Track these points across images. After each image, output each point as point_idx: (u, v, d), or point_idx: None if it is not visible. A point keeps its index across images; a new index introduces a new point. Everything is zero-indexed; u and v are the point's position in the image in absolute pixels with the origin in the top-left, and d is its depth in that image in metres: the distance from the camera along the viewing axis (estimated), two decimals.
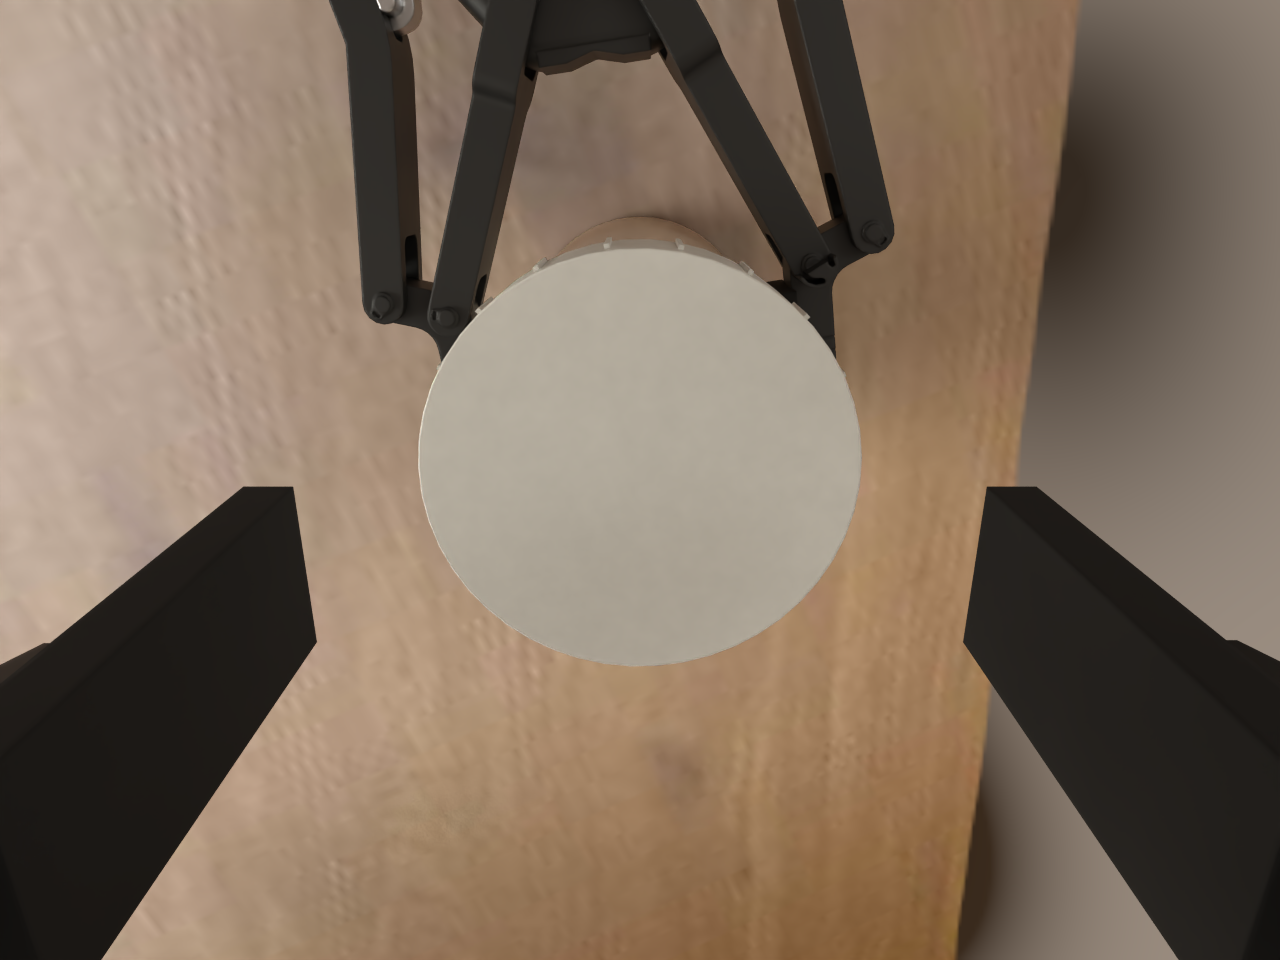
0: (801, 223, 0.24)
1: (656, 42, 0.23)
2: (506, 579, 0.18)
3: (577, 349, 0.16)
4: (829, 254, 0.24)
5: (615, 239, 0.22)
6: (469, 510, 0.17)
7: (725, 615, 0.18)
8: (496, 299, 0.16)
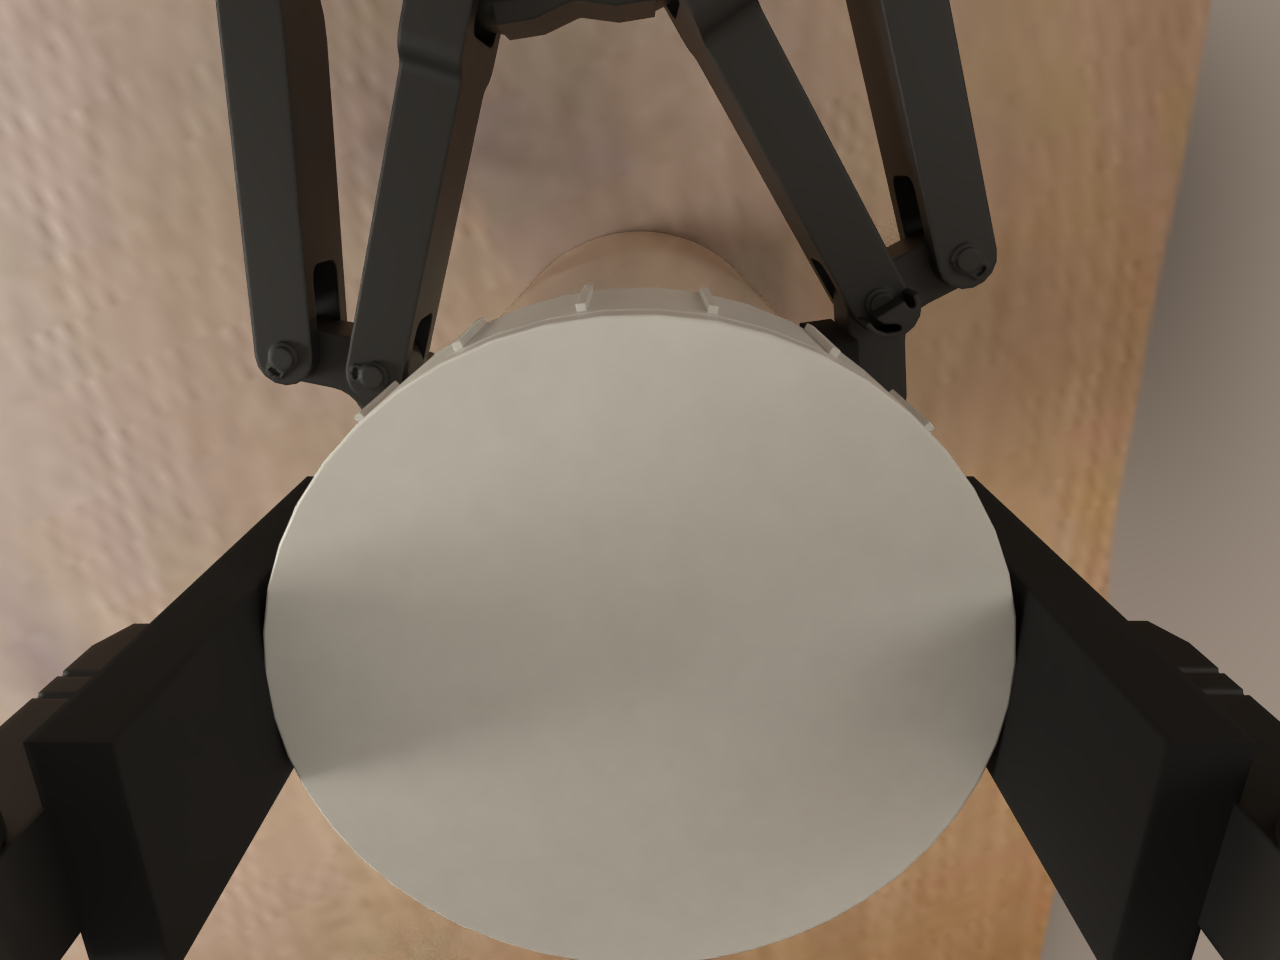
0: (866, 246, 0.17)
1: None
2: (421, 843, 0.11)
3: (530, 488, 0.09)
4: (905, 289, 0.17)
5: (604, 273, 0.15)
6: (354, 741, 0.10)
7: (778, 894, 0.11)
8: (384, 403, 0.09)
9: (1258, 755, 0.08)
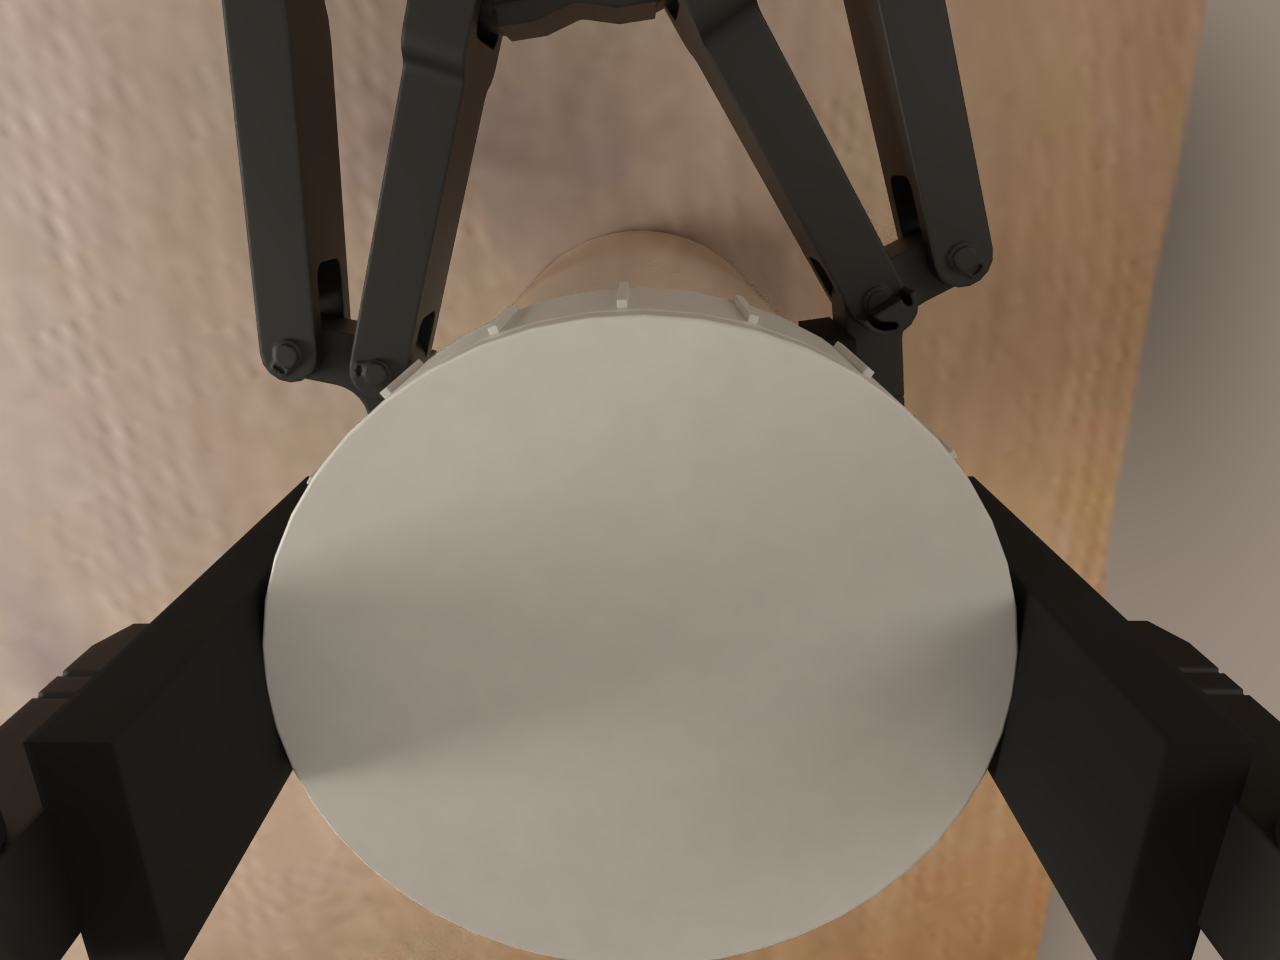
0: (864, 245, 0.17)
1: None
2: (794, 887, 0.11)
3: (421, 756, 0.10)
4: (902, 288, 0.18)
5: (605, 271, 0.15)
6: (669, 916, 0.11)
7: (936, 576, 0.10)
8: (348, 842, 0.11)
9: (1258, 755, 0.08)
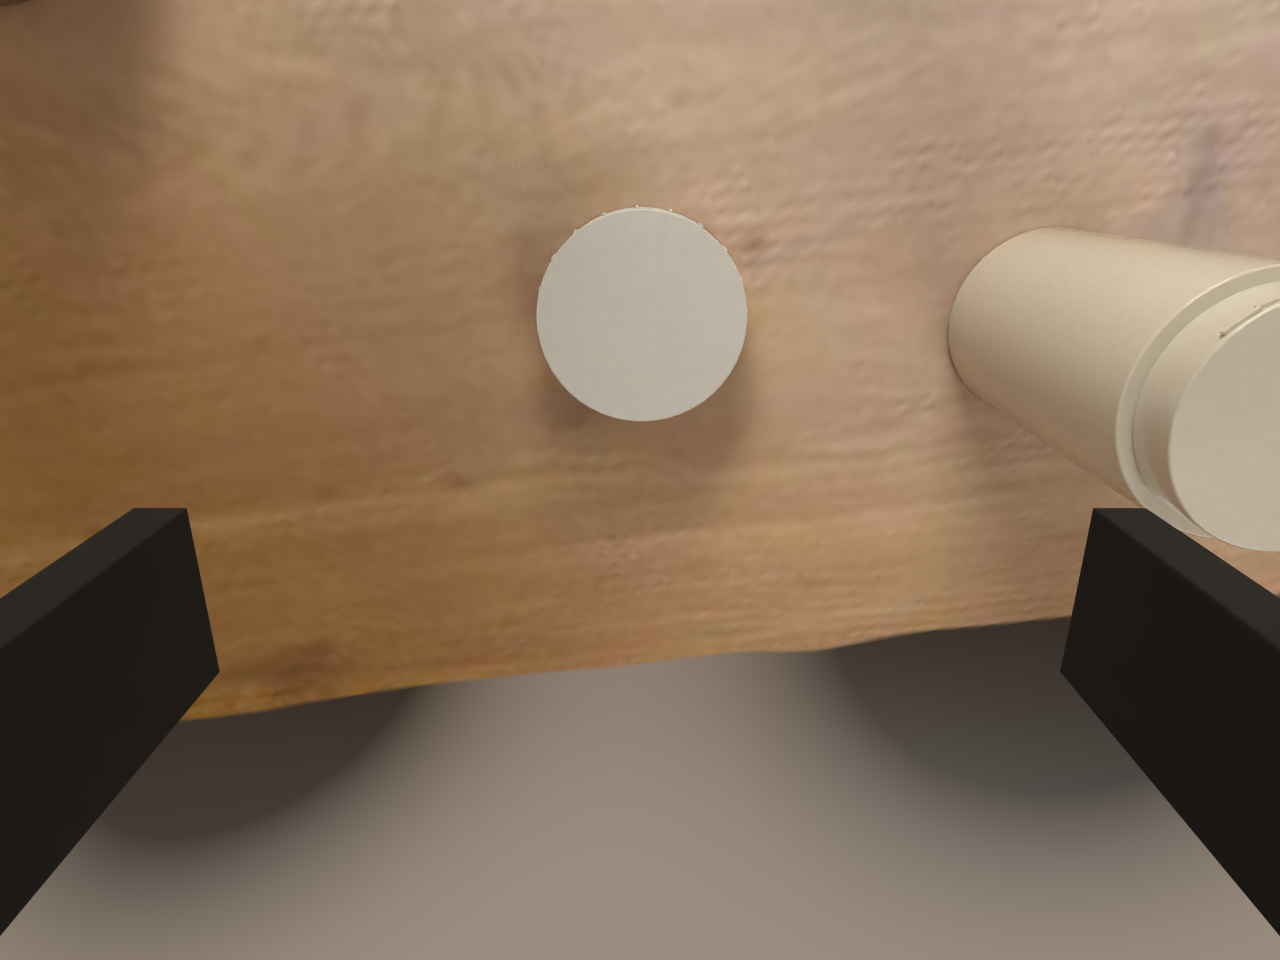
0: None
1: None
2: (688, 389, 0.37)
3: (578, 342, 0.36)
4: None
5: None
6: (650, 401, 0.37)
7: (722, 283, 0.35)
8: (554, 374, 0.37)
9: None
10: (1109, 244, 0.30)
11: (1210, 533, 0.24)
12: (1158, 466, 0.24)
